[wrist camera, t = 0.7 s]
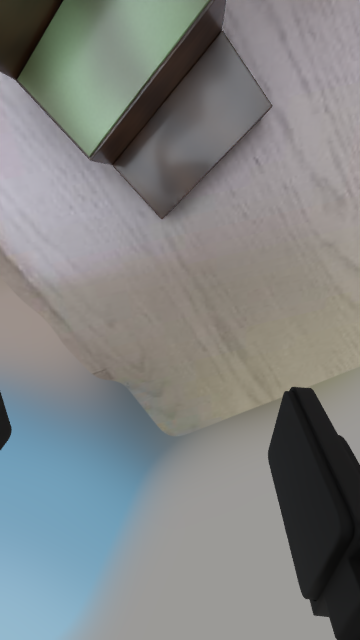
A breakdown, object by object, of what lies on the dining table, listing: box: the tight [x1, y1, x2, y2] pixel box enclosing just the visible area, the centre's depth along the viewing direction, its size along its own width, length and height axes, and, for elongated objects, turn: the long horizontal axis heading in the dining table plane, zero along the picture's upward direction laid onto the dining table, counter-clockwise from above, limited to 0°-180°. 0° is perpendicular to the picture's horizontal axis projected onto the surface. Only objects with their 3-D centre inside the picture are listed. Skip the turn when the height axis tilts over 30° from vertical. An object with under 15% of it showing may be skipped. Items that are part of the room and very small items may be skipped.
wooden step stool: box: [0, 0, 272, 219], centre depth 21 cm, size 14×21×16 cm, turn 43°
